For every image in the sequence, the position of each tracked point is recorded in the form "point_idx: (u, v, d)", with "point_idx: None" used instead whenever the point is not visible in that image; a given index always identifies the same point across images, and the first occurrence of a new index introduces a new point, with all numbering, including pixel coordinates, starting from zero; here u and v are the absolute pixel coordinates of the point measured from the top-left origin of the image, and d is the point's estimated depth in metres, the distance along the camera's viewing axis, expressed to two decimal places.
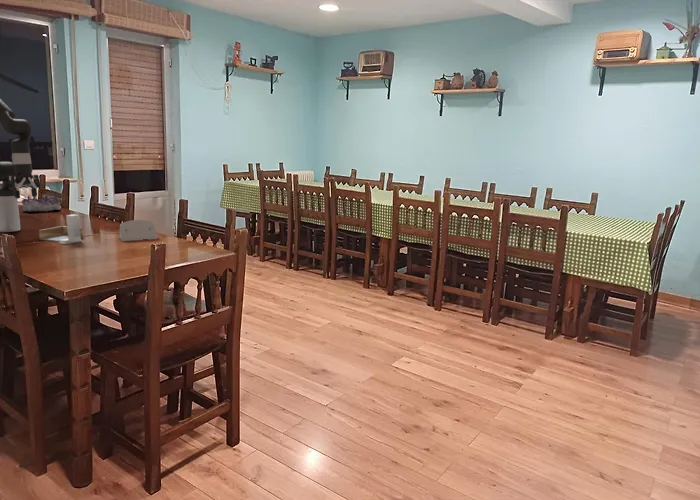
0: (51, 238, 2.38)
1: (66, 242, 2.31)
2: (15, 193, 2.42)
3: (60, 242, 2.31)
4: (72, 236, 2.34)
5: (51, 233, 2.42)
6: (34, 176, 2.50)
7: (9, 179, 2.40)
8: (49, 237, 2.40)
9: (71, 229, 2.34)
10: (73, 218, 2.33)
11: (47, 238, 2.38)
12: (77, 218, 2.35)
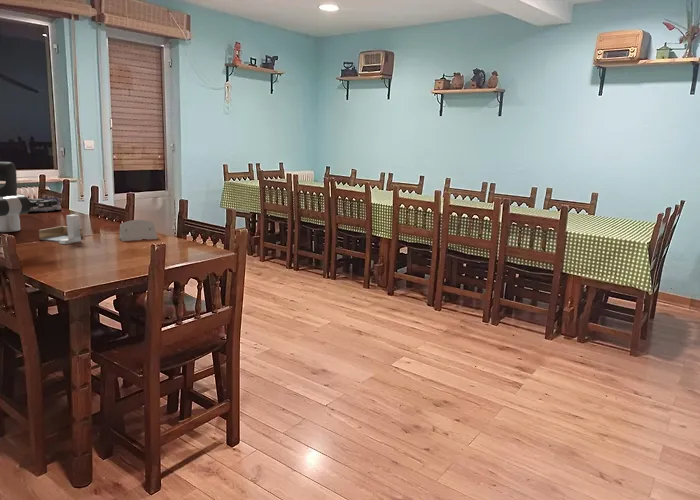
0: (51, 238, 2.38)
1: (66, 242, 2.31)
2: (53, 202, 2.18)
3: (60, 242, 2.31)
4: (72, 236, 2.34)
5: (51, 233, 2.42)
6: None
7: (42, 205, 2.12)
8: (49, 237, 2.40)
9: (71, 229, 2.34)
10: (73, 218, 2.33)
11: (47, 238, 2.38)
12: (77, 218, 2.35)
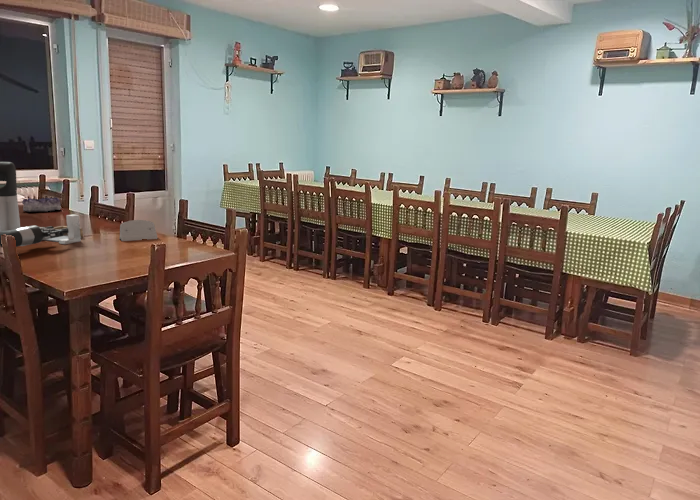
0: (51, 238, 2.38)
1: (66, 242, 2.31)
2: (64, 231, 2.24)
3: (60, 242, 2.31)
4: (72, 236, 2.34)
5: None
6: None
7: (54, 235, 2.18)
8: (49, 237, 2.40)
9: (71, 229, 2.34)
10: (73, 218, 2.33)
11: (47, 238, 2.38)
12: (77, 218, 2.35)
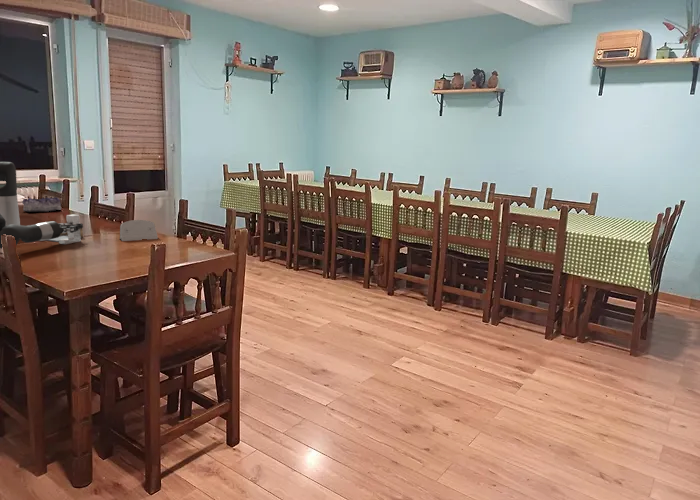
0: None
1: (66, 242, 2.31)
2: (79, 226, 2.35)
3: (60, 242, 2.31)
4: (72, 236, 2.34)
5: None
6: None
7: (73, 230, 2.28)
8: None
9: None
10: (74, 218, 2.33)
11: None
12: (77, 218, 2.35)
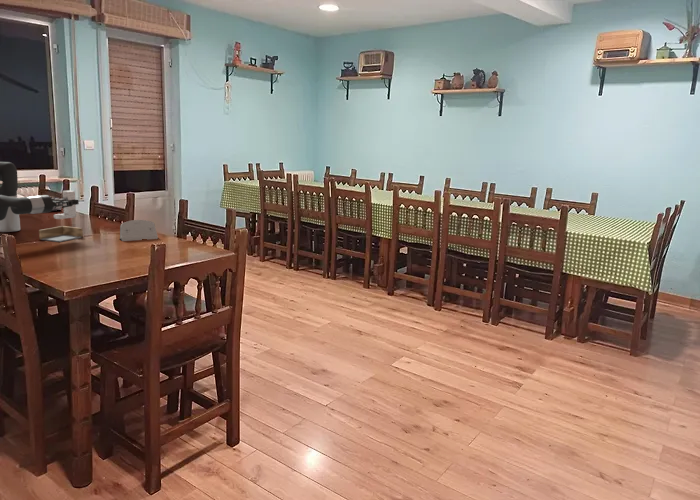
0: (51, 238, 2.38)
1: (60, 217, 2.34)
2: (74, 202, 2.37)
3: (54, 216, 2.35)
4: (67, 212, 2.37)
5: (51, 233, 2.42)
6: None
7: (66, 205, 2.31)
8: (49, 237, 2.40)
9: None
10: (69, 194, 2.36)
11: (47, 238, 2.38)
12: (73, 194, 2.38)
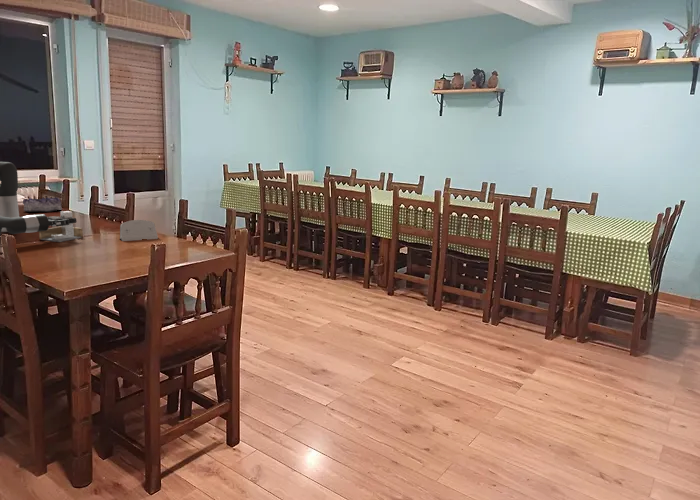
0: (51, 238, 2.38)
1: (56, 238, 2.36)
2: (71, 220, 2.37)
3: (52, 237, 2.37)
4: (64, 232, 2.39)
5: (51, 233, 2.42)
6: None
7: (60, 224, 2.31)
8: (49, 237, 2.40)
9: (64, 225, 2.39)
10: (66, 214, 2.37)
11: (47, 238, 2.38)
12: (70, 215, 2.39)
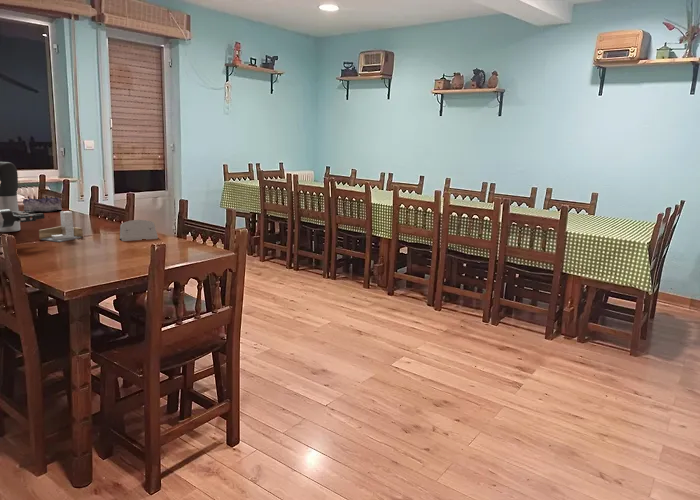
0: (51, 238, 2.38)
1: (56, 238, 2.36)
2: (39, 216, 2.24)
3: (52, 237, 2.37)
4: (64, 232, 2.39)
5: (51, 233, 2.42)
6: None
7: (24, 220, 2.18)
8: (49, 237, 2.40)
9: (64, 225, 2.39)
10: (66, 214, 2.38)
11: (47, 238, 2.38)
12: (70, 215, 2.39)
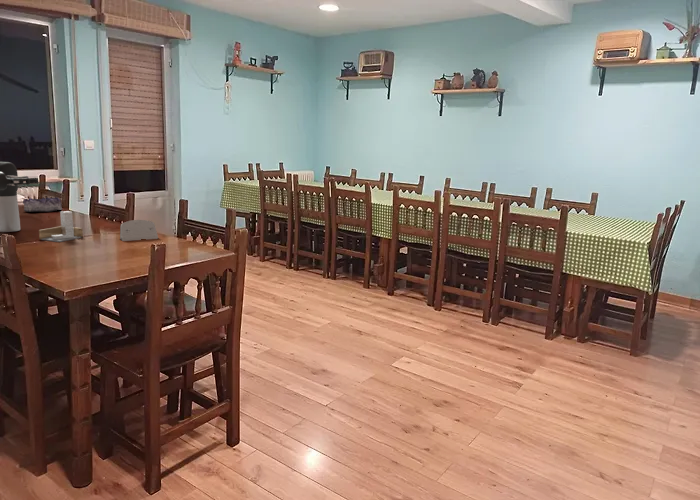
0: (51, 238, 2.38)
1: (56, 238, 2.36)
2: (33, 180, 2.20)
3: (52, 237, 2.37)
4: (64, 232, 2.39)
5: (51, 233, 2.42)
6: None
7: (18, 182, 2.14)
8: (49, 237, 2.40)
9: (64, 225, 2.39)
10: (66, 214, 2.38)
11: (47, 238, 2.38)
12: (70, 215, 2.39)
